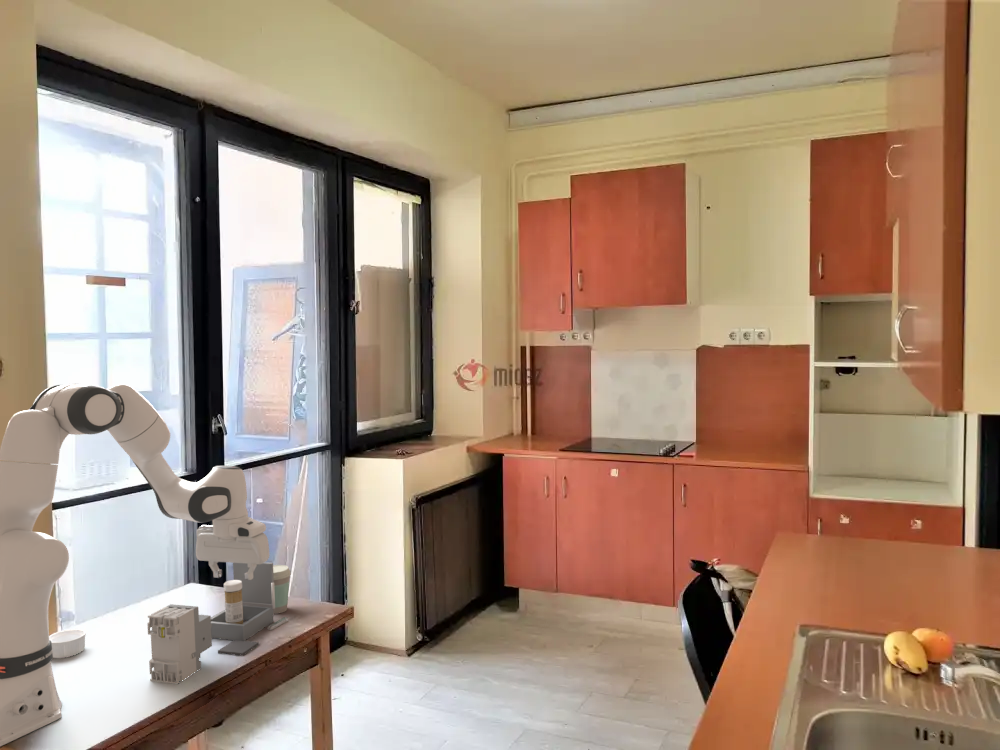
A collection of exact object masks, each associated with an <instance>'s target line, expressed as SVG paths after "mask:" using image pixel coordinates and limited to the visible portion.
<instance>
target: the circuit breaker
mask: <svg viewBox="0 0 1000 750" xmlns="http://www.w3.org/2000/svg"><path fill="white" fill-rule="evenodd" d="M199 612H200V611H199V606H197V605H196V606H194V605H183V604H171V603H170V604H169V605H166V606H165V607H162V608H160V609H159V610H157V611H154V612H153V613H151V614H149V615H147V618H148V622H147V635H148V636H149V635H150V644H151V646H150V647H151V659H149V663H148V664H149V675H150V677H151V678H150V680H149V681H151V682H156V683H157V682H158V683H166V684H173V683H177V684H176V685H179V684H180V682H179V681H181V682H183V681H182V680H184V679H185V678H187V677H188V676H190V675H191V674H192V673H194V672H196V671H197V670H199V669H200V668H201V669H202V662H201V660H200V659H201V658H202V657H201V654H202V653H203V652H205V651H206V650H208V649H210V648H212V647H213V641H212V640H213V638H212V635H211V627H212V624H211V617H212V616H211V615H208V614H200V613H199ZM201 669H200V670H201ZM200 670H199V671H200ZM197 672H198V671H197ZM197 672H196V673H197ZM194 674H195V673H194ZM191 676H192V675H191ZM191 676H190V677H191ZM188 678H189V677H188ZM188 678H187V679H188ZM185 680H186V679H185ZM185 680H184V681H185ZM178 683H179V684H178Z"/></svg>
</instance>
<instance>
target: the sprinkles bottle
mask: <svg viewBox="0 0 1000 750" xmlns="http://www.w3.org/2000/svg"><path fill="white" fill-rule="evenodd" d="M223 591H224V607H225V608H224V610H225V612H226V623H234V624H243V623H244V620H243V606H242V581H240V580H234V579H231V580H227V581H225V582H224V583H223Z"/></svg>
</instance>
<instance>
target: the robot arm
mask: <svg viewBox="0 0 1000 750" xmlns="http://www.w3.org/2000/svg"><path fill="white" fill-rule="evenodd" d="M105 431H108V432H109V433H110V435H111V437H112V438H113V439H114V440H115V441H116V442H117V444H118V445H119V446H120V447H121V449H122V450H123V451H124V452H125V453H126V454H127V455H128V457H129V458H130V459H131V460H132V463H134V465H135V466H136V468H137V469H138V471H139V472H140V474H141V475H142V476H143V478H144V479H145V481H146V482H147V483H148V485H149V486H150V488H151V489H152V491H153V493H154V495H155V499H156V502H157V507H158V508H159V511H160V512H161V513H162V514H163V515H164V516H166V517H167V518H169V519H175V520H176V519H177V520H178V519H179V520H184V521H188V522H194V523H201V524H202V523H208V522H211V521H212V524H211V525H207V524H202V525H201V526H199V527H198V528H197V529H196V543H195V557H196V559H197V560H198V561H200V562H202V561H204V562H208V566H209V567H210V569H211V571H212V574H213V578H217V579H220V578H221V577H222V576H223V570H222V569H220V568H219V565H218V563H232V564H233V563H246V564H248V567H250V568H249V570H248V572H247V573H245V580H251V579H253V572H254V570H255V568H256V566H257V564H262V563H264V562H266V563H267V562H268V560H269V558H270V546H269V539H268V537H267V535H266V533H265V532H266V530H267V526H266V524H265V523H264V522H261V521H259V520H256V519H255V518H252V517H250V516H249V513H248V509H247V505H246V504H247V499H248V493H247V492H248V491H247V490H248V489H247V482H246V481H247V480H246V477H245V473H244V471H243V468H241V467H239V466H234V465H233V466H232V465H215V466H213V467H212V469H211V470H210V472H209V473H208V474H207V475H206V476H205V477H203V478H202V479H200V480H199V481H197V482H194V481H189V480H186V479H183V478H181V477H179V476H178V475H177V474H175V472H174V471H173V469H172V468H171V466H170V465H169V464H168V461H167V460H166V459H165V457H164V456H163V455H162V453H163V452H164V451H165V450H166V448H167V447H168V445H169V443H170V441H171V432H170V429H169V427H168V425H167V423H166V422H165V420H164V418H163V417H162V416H161V415H160V413H159V412H158V411H157V409H155V407H154V406H153V405H152V404H151V403H150V401H149V400H148V399H146V398H145V396H144V395H142V393H140V392H139V391H138V390H137V389H136V388H134V387H133V386H132V385H129V384H125V383H118V384H114V385H112V386H109V387H107V388H105V387H103V386H99V385H94V384H89V385H87V384H81V383H69V384H57V385H53V386H50V387H48V388H46V389H44V390H42V392H40V394H38V395H37V397H36V398H35V400H34V401H33V404H32V405H31V407H30V408H29V409H27V410H22V411H18V412H16V413H14V414H13V415H12V416H11V417H10V419H9V421H8V423H7V426H6V428H5V432H4V434H3V438H2V440H1V444H0V747H2V746H4V745H6V744H9V743H11V742H12V741H15V740H17V739H19V738H22V737H23V736H26V735H28V734H30V733H32V732H34V731H36V730H38V729H40V728H42V727H45V726H47V725H49V724H50V723H53V722H55V721H57V720H59V719H61V717H62V711H61V708H62V706H63V705H62V704H63V703H62V700H61V699H60V696H59V694H58V691H57V687H56V683H55V677H54V672H53V667H52V660H53V659H54V658H53V653H52V652H53V650H52V642H51V641H50V640H49V636H50V631H49V630H50V629H49V627H50V626H49V606H50V599H51V595H52V591H53V589H54V586H55V584H56V582H57V581H59V579H60V578H61V577H62V576H63V575H64V574H65V572H66V570H67V569H68V568H67V567H68V566H69V560H70V555H69V550H68V548H67V546H66V544H65V543H64V542H62V541H61V540H59V539H57V538H56V537H54V536H52V535H49V534H48V533H44V532H39V531H33V529H34V526H35V523H36V521H37V519H38V517H39V516H40V514H41V513H42V512H43V510H44V509H46V508H47V507H49V506H50V504H51V503H52V501H53V499H54V494H55V487H56V482H57V475H58V474H57V473H58V468H59V461H60V452H61V450H60V449H61V447H62V445H63V442H64V441H65V439H66V438H67V437H68V436H69V435H77V436H78V435H80V436H81V435H97V434H100V433H103V432H105Z"/></svg>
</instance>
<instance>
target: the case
mask: <svg viewBox="0 0 1000 750" xmlns="http://www.w3.org/2000/svg"><path fill="white" fill-rule="evenodd" d="M273 565H274V563H273V562H267V561H266V562H264V563H262V564H257V566H256V568H255V570H254V572H253V579H251V580H245V573H247V572H248V570H249V568H250V567H248V564H246V563H232V572H233V573H232V574H233V580H240V581H242V606H243V621H245V620H248V621H245V622H243V624H234V623H226V612H225V609H223V610H221V611H220V612H218V613H217V614H215V615H213V616H211V624H212V627H211V635H212V639H216V638H221V639H220V640H226V639H228V641H234V640H242V641H247V640H248V639H249V637H250V638H251V637H253V636H255V633H256V634H257V633H258V631H259V632H260V631H262V630H263V629H265V628H266V627H268V626H269V625H271V624H273V623H275V621H274V614H273V609H275V590H274V575H273ZM264 627H265V628H264ZM261 629H262V630H261ZM252 635H253V636H252ZM246 639H247V640H246Z"/></svg>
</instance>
